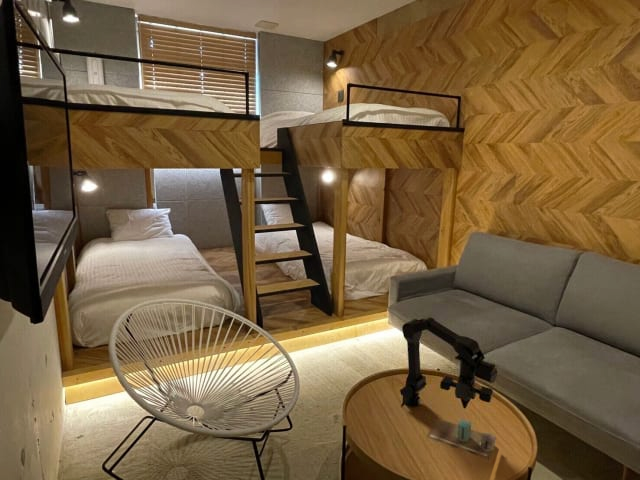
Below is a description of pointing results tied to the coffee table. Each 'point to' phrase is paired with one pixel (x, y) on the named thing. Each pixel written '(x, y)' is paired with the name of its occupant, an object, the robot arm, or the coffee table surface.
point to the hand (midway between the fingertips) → (464, 407)
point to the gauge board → (476, 444)
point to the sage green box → (464, 430)
